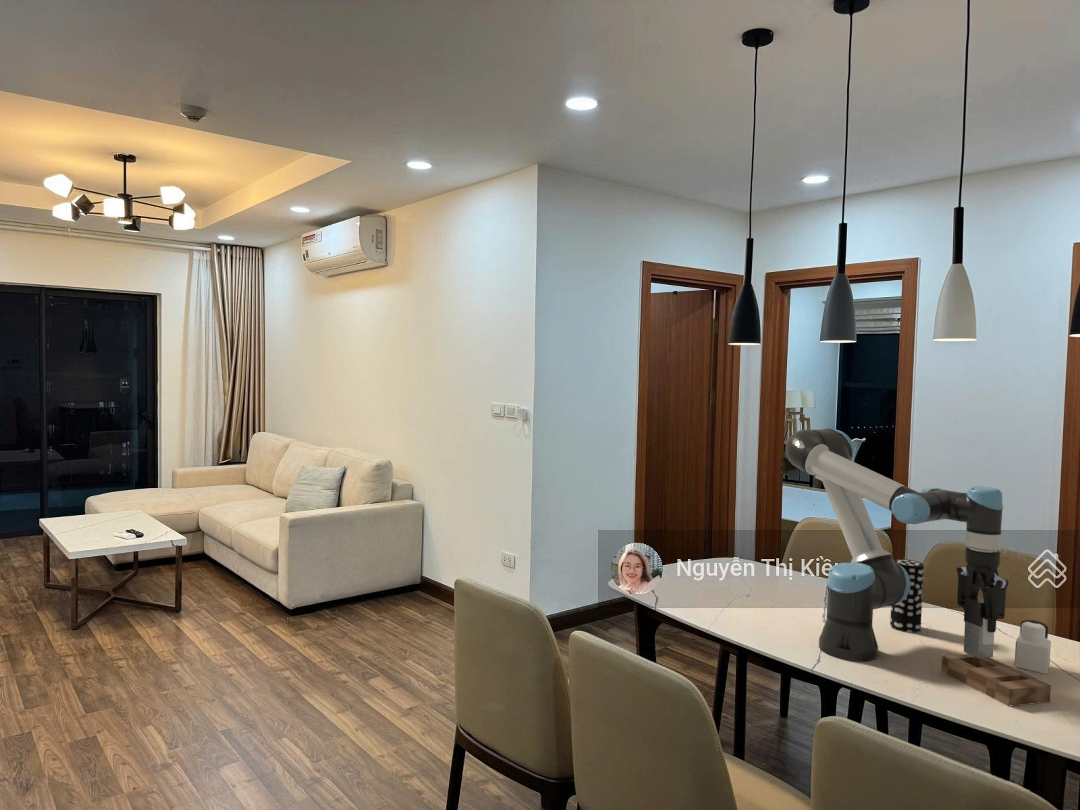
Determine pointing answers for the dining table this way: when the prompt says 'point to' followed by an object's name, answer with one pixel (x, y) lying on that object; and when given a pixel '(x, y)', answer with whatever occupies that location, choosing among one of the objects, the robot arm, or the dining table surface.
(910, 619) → the spotted tube
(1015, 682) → the wooden compartment tray
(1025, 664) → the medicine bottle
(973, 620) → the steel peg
